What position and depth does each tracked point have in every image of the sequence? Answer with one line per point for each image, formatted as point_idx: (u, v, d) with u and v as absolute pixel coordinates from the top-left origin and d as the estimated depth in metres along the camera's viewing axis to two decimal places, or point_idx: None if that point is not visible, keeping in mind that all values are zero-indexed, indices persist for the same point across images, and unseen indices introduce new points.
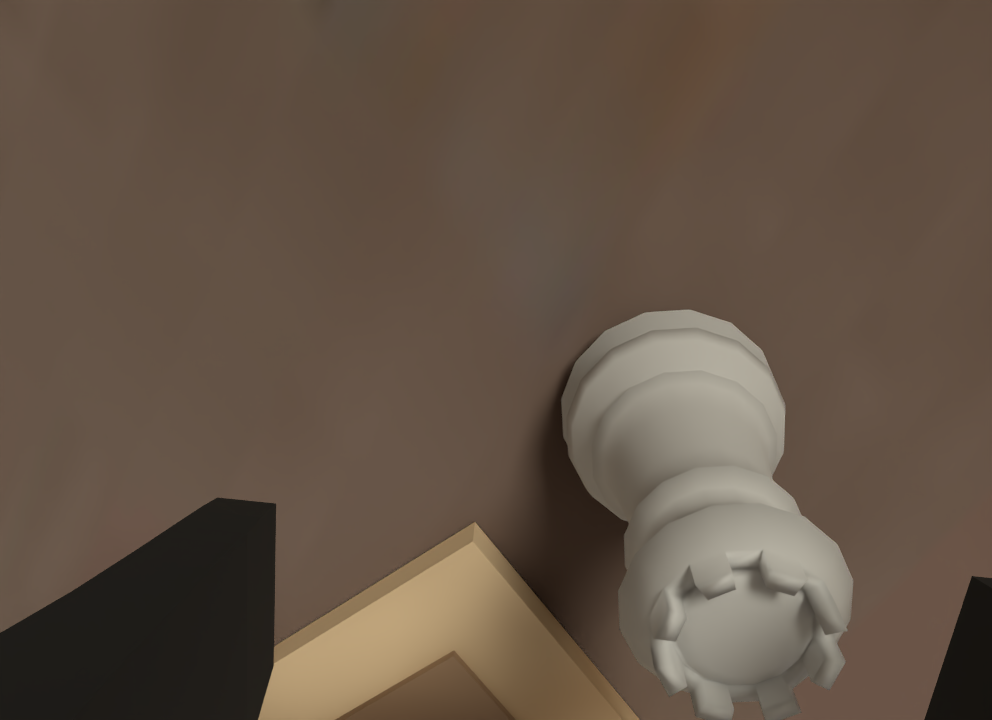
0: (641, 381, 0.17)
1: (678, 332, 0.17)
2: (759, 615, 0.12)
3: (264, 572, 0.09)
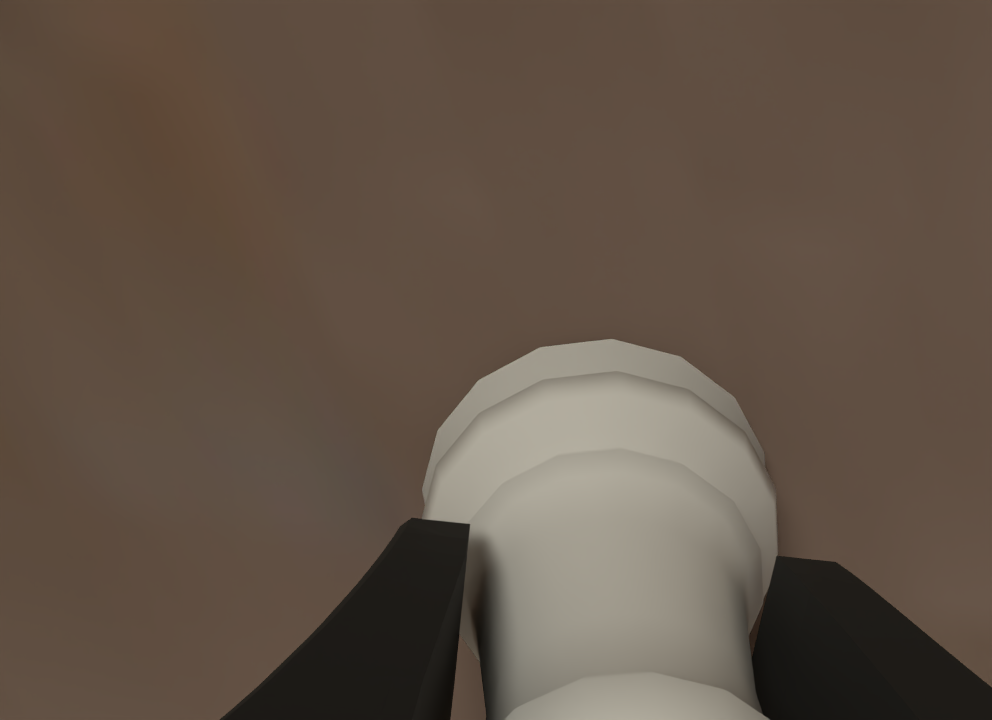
0: None
1: (461, 441, 0.11)
2: None
3: None
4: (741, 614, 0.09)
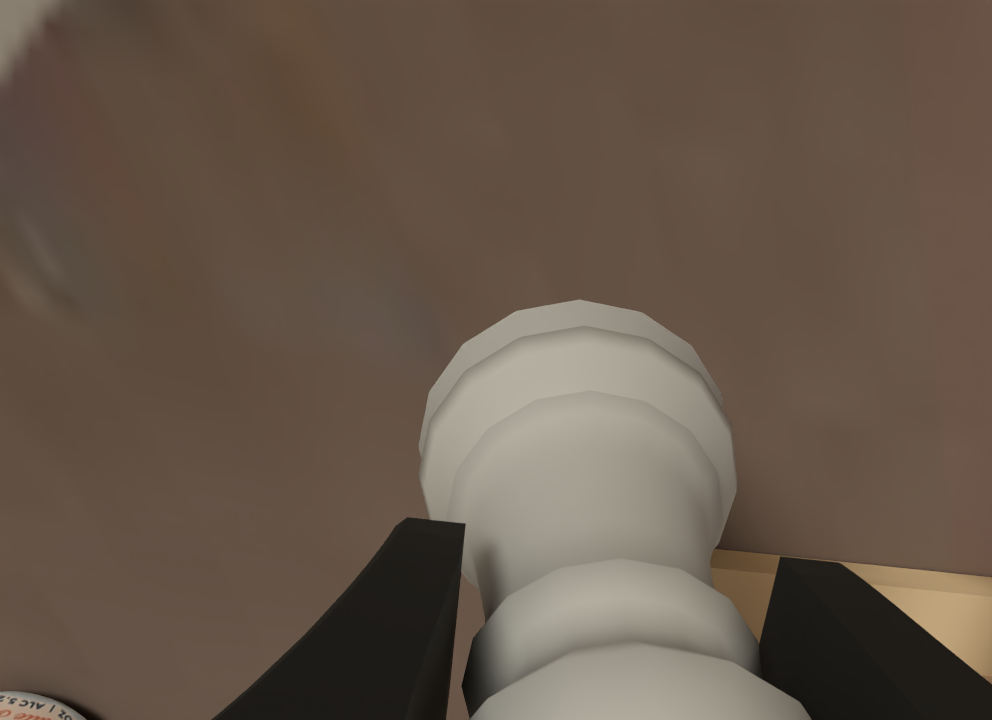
0: None
1: (451, 396, 0.12)
2: None
3: (458, 593, 0.09)
4: (700, 523, 0.10)
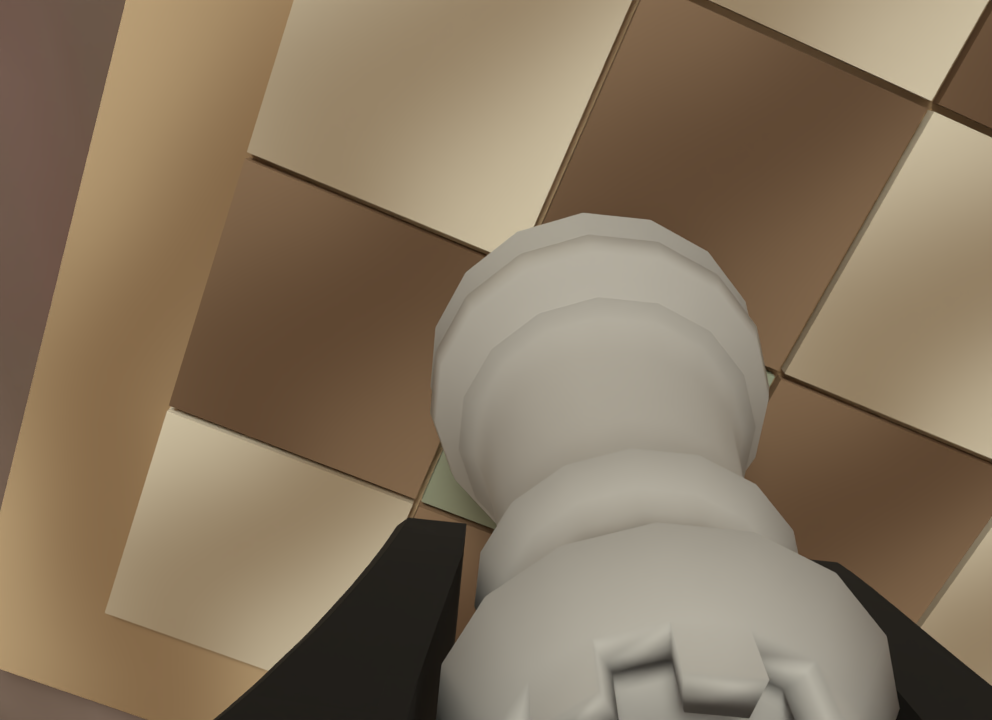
0: None
1: (454, 324, 0.11)
2: None
3: (459, 593, 0.09)
4: (726, 424, 0.10)
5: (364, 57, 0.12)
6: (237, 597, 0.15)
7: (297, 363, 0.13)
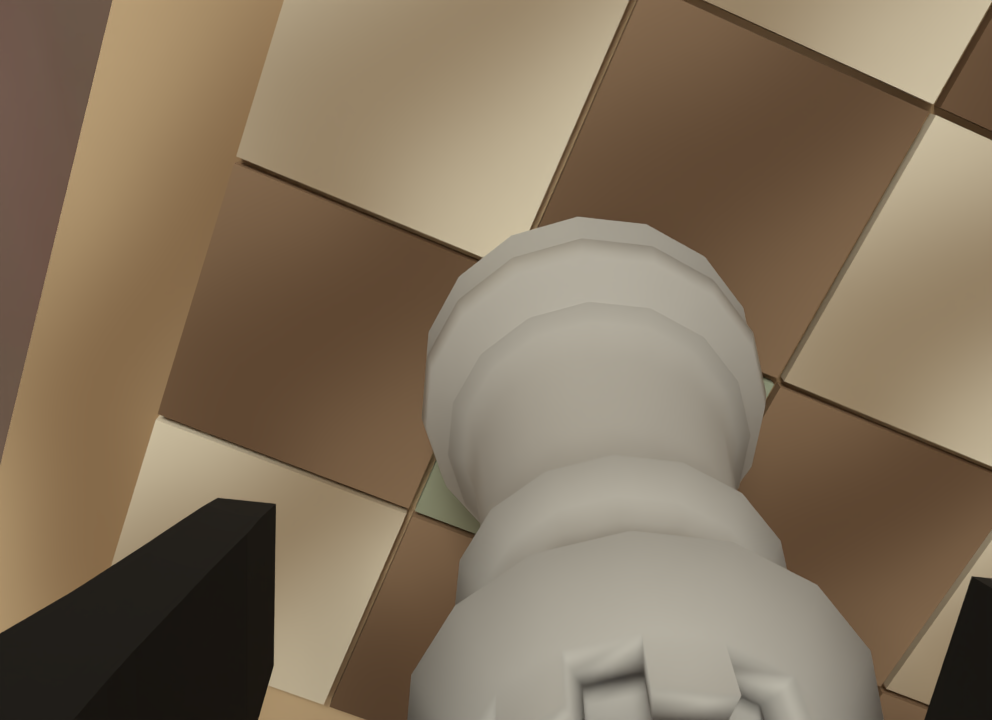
0: None
1: (445, 329, 0.11)
2: None
3: (264, 574, 0.09)
4: (717, 431, 0.09)
5: (355, 60, 0.12)
6: None
7: (288, 371, 0.13)
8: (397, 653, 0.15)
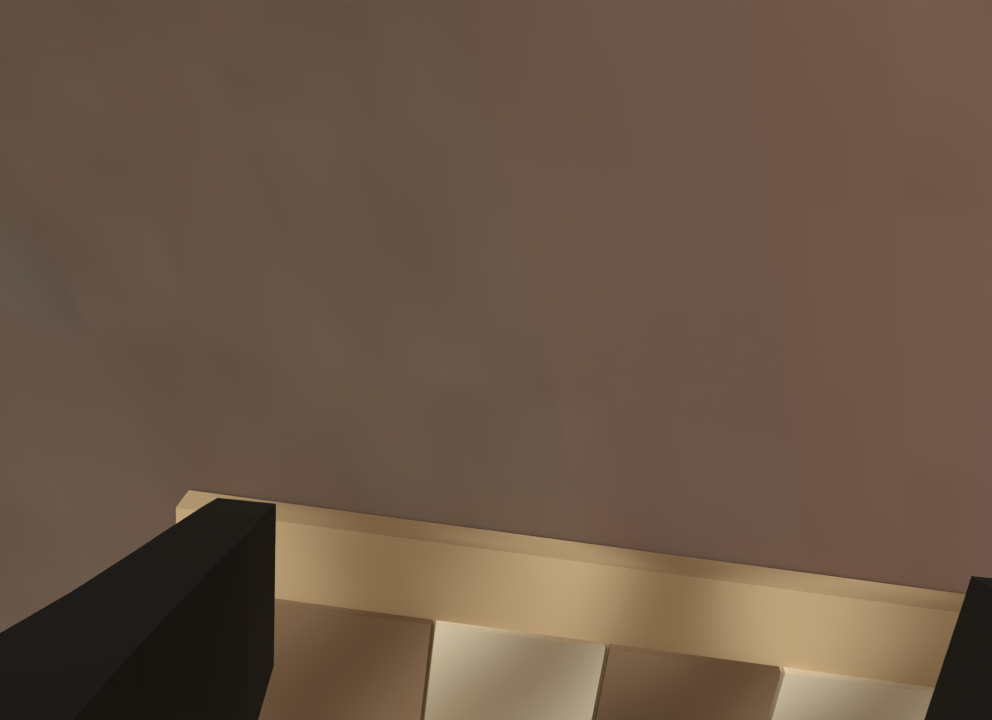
0: None
1: None
2: None
3: (264, 574, 0.09)
4: None
5: None
6: None
7: None
8: None
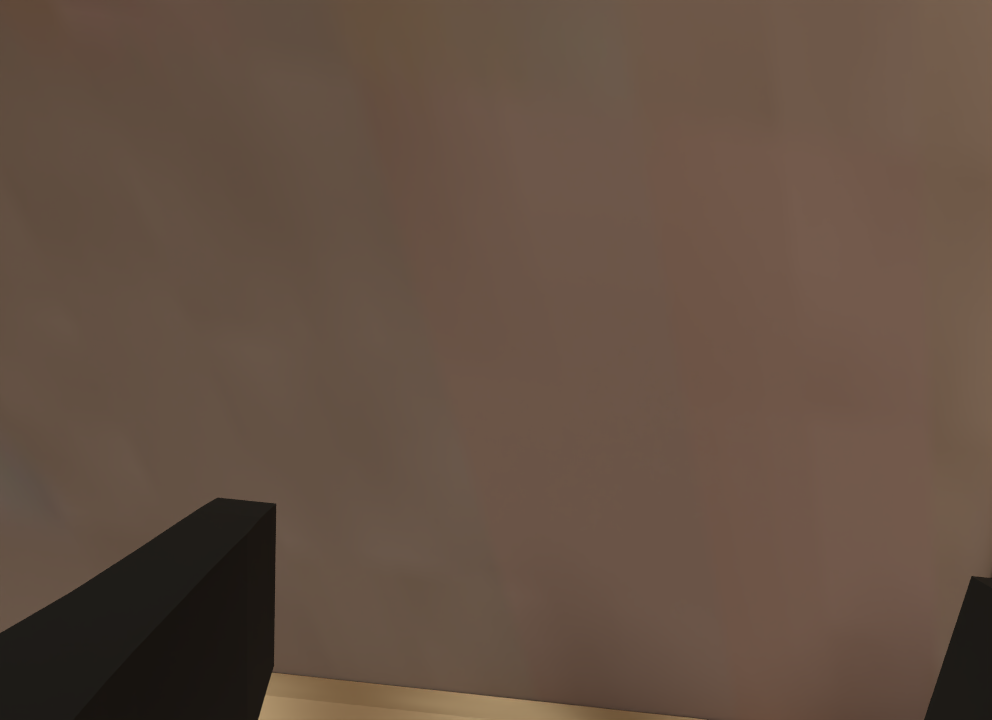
0: None
1: None
2: None
3: (264, 574, 0.09)
4: None
5: None
6: None
7: None
8: None
